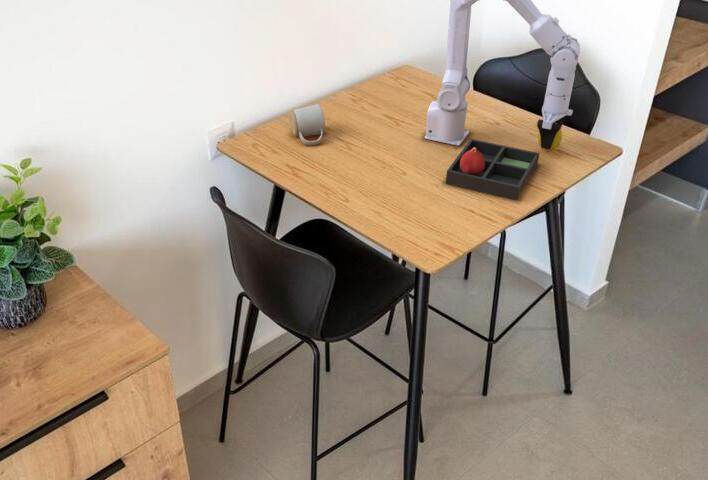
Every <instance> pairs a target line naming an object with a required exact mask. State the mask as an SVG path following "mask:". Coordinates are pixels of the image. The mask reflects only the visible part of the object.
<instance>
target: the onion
mask: <svg viewBox="0 0 708 480" xmlns="http://www.w3.org/2000/svg"><path fill="white" fill-rule="evenodd" d="M484 167H485V159H484V157H483V155H482V154H481V153H480V152H479V151H478V150H477V149H476V148H473V149H471V150H469V151H467V152H466V153H465V154H464V155H463V156H462V157H461V160H460V168H461V170H462V172H463V173H466V174H470V175H474V176H476V175H478V174H480V173H481V172H482V171H483V170H484Z"/></svg>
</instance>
